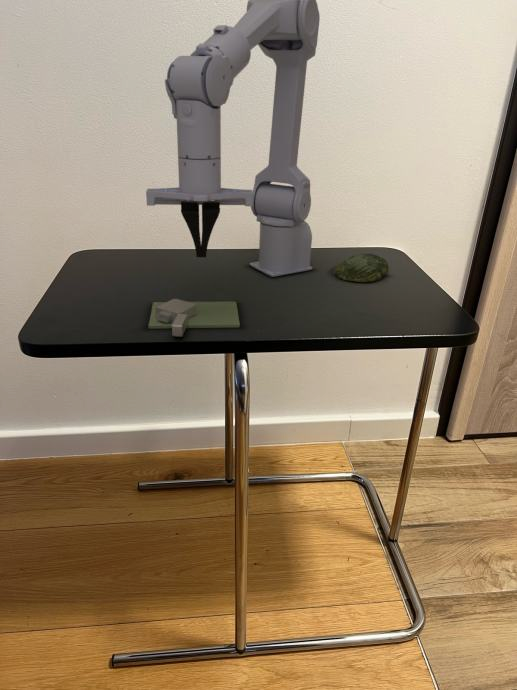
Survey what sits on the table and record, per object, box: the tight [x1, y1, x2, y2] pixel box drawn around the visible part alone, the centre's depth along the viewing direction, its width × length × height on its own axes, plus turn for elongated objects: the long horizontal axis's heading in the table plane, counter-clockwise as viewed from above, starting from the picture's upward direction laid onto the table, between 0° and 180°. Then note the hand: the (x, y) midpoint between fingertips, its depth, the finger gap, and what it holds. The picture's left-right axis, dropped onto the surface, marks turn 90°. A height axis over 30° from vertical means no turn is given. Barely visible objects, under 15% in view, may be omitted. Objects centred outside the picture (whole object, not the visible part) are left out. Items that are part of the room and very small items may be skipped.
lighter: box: [155, 298, 196, 338], centre depth 77 cm, size 7×2×8 cm
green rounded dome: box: [332, 253, 389, 283], centre depth 101 cm, size 10×4×10 cm
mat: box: [148, 301, 241, 330], centre depth 82 cm, size 13×9×1 cm
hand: (201, 255), depth 79 cm, fingers closed
